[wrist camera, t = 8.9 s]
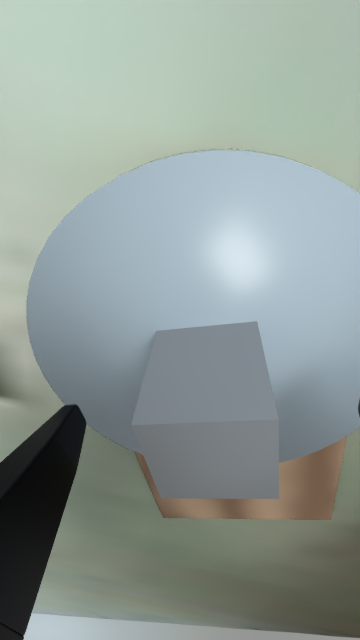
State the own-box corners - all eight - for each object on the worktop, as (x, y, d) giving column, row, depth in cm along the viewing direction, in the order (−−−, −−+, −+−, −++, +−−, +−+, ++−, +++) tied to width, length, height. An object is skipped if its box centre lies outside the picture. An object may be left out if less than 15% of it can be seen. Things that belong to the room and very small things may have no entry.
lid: (466, 96, 7) (810, 62, 3) (371, 447, 15) (434, 576, 10) (-33, 195, 10) (-217, 251, 5) (103, 453, 17) (68, 560, 13)
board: (349, 395, 20) (353, 401, 19) (329, 514, 28) (331, 520, 28) (119, 407, 22) (117, 413, 22) (163, 512, 31) (163, 517, 30)
